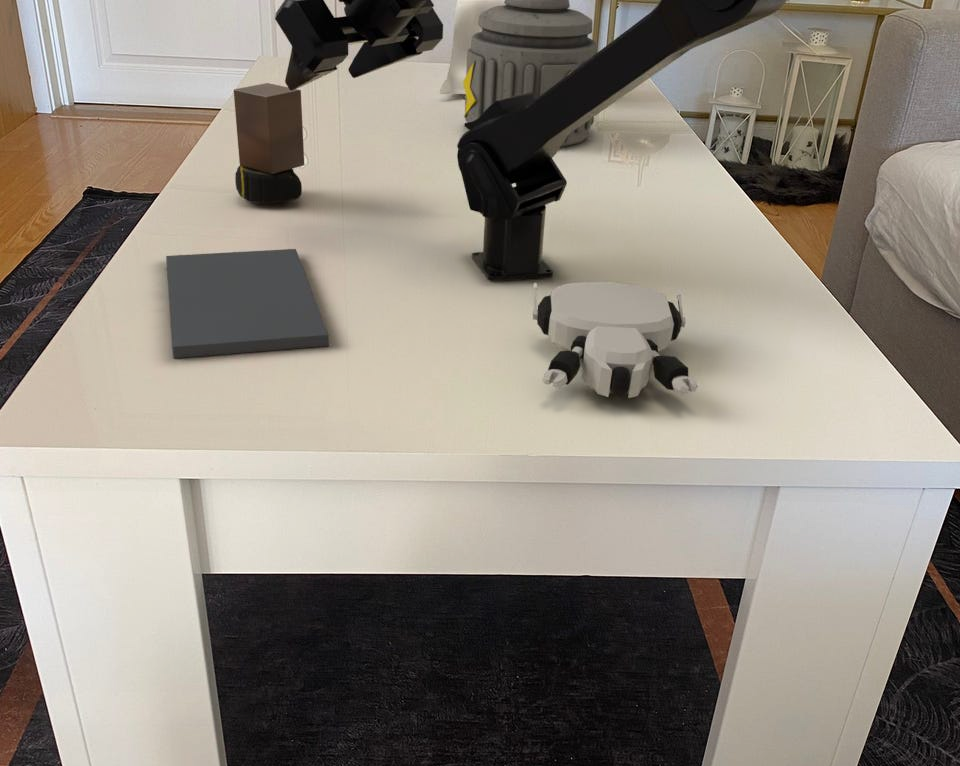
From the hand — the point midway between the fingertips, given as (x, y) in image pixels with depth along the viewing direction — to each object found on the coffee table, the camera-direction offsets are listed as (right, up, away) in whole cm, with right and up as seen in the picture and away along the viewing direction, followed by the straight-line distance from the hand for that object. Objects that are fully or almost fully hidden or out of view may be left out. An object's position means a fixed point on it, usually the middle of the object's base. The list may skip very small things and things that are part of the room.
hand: (321, 79), depth 100 cm
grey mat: (-5, -25, -14) cm, 29 cm away
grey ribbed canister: (+23, +8, +42) cm, 49 cm away
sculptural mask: (+26, +32, +66) cm, 78 cm away
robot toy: (+26, -32, -22) cm, 47 cm away
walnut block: (-7, -6, +9) cm, 13 cm away
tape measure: (-7, -10, +11) cm, 16 cm away
